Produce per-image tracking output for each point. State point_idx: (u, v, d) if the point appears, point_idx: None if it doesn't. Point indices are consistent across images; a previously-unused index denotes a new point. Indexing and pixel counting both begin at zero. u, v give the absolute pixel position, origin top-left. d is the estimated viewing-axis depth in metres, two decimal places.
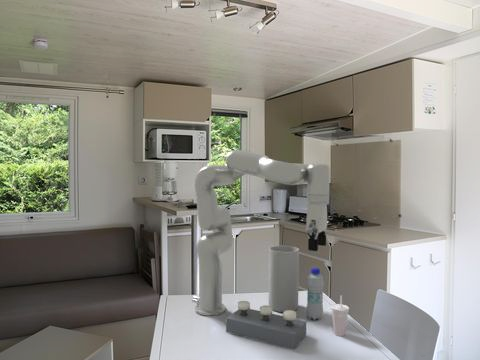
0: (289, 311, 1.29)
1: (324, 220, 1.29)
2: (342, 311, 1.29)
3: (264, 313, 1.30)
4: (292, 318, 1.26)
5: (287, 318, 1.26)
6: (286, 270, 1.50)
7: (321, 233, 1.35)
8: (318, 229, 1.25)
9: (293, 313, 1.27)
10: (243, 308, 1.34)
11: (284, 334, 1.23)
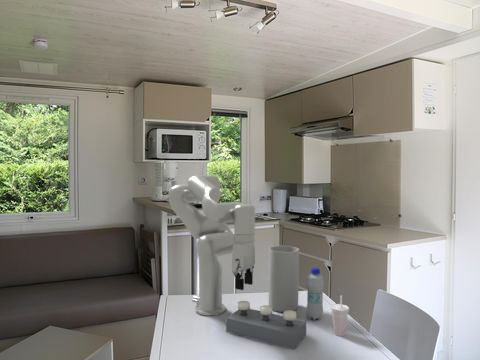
0: (289, 311, 1.29)
1: (250, 258, 1.35)
2: (342, 311, 1.29)
3: (264, 313, 1.30)
4: (292, 318, 1.26)
5: (287, 318, 1.26)
6: (286, 270, 1.50)
7: (248, 272, 1.39)
8: (242, 268, 1.31)
9: (293, 313, 1.27)
10: (243, 308, 1.34)
11: (284, 334, 1.23)
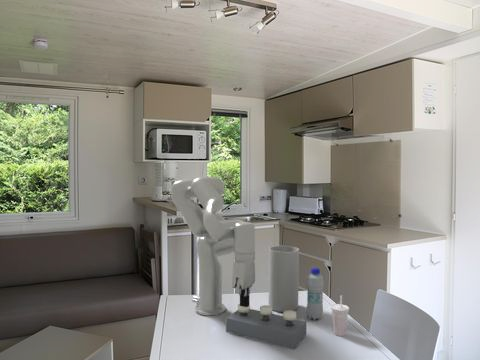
0: (289, 311, 1.29)
1: (250, 276, 1.35)
2: (342, 311, 1.29)
3: (264, 313, 1.30)
4: (292, 318, 1.26)
5: (287, 318, 1.26)
6: (286, 270, 1.50)
7: None
8: (242, 286, 1.31)
9: (293, 313, 1.27)
10: (243, 310, 1.34)
11: (284, 334, 1.23)
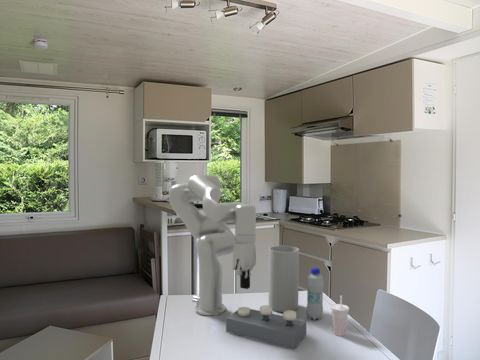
0: (289, 311, 1.29)
1: (251, 258, 1.34)
2: (342, 311, 1.29)
3: (264, 313, 1.30)
4: (292, 318, 1.26)
5: (287, 318, 1.26)
6: (286, 270, 1.50)
7: None
8: (243, 268, 1.31)
9: (293, 313, 1.27)
10: (243, 314, 1.35)
11: (284, 334, 1.23)
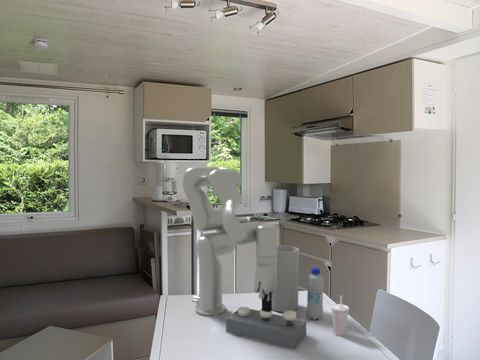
0: (289, 311, 1.29)
1: (273, 280, 1.30)
2: (342, 311, 1.29)
3: (264, 316, 1.30)
4: (292, 318, 1.26)
5: (287, 318, 1.26)
6: (286, 270, 1.50)
7: None
8: (265, 291, 1.27)
9: (293, 313, 1.27)
10: (243, 314, 1.35)
11: (284, 334, 1.23)
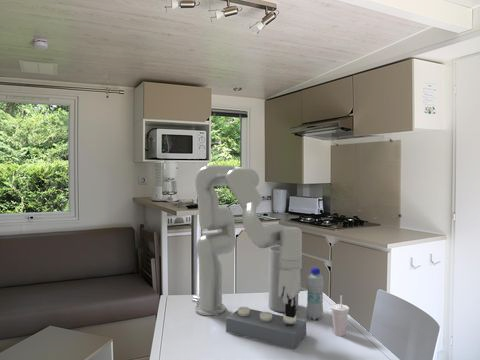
0: None
1: (297, 285, 1.26)
2: (342, 311, 1.29)
3: (264, 320, 1.30)
4: (292, 321, 1.26)
5: (287, 321, 1.26)
6: None
7: None
8: (290, 296, 1.22)
9: None
10: (243, 314, 1.35)
11: (284, 334, 1.23)
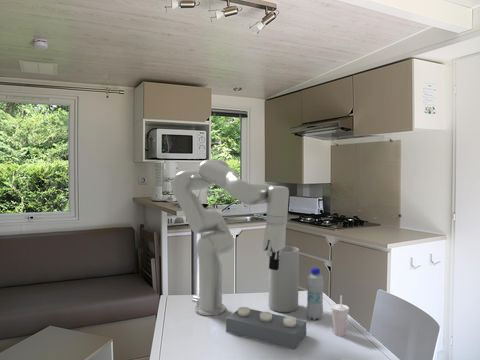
0: (289, 318, 1.29)
1: (281, 240, 1.34)
2: (342, 311, 1.29)
3: (264, 320, 1.30)
4: (292, 325, 1.26)
5: (287, 325, 1.26)
6: (286, 270, 1.50)
7: None
8: (273, 249, 1.31)
9: (293, 320, 1.27)
10: (243, 314, 1.35)
11: (284, 334, 1.23)
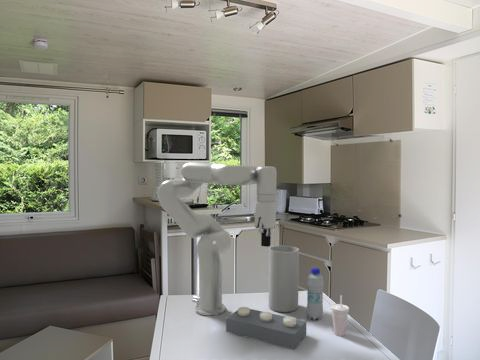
0: (289, 318, 1.29)
1: (271, 217, 1.41)
2: (342, 311, 1.29)
3: (264, 320, 1.30)
4: (292, 325, 1.26)
5: (287, 325, 1.26)
6: (286, 270, 1.50)
7: None
8: (264, 225, 1.37)
9: (293, 320, 1.27)
10: (243, 314, 1.35)
11: (284, 334, 1.23)
